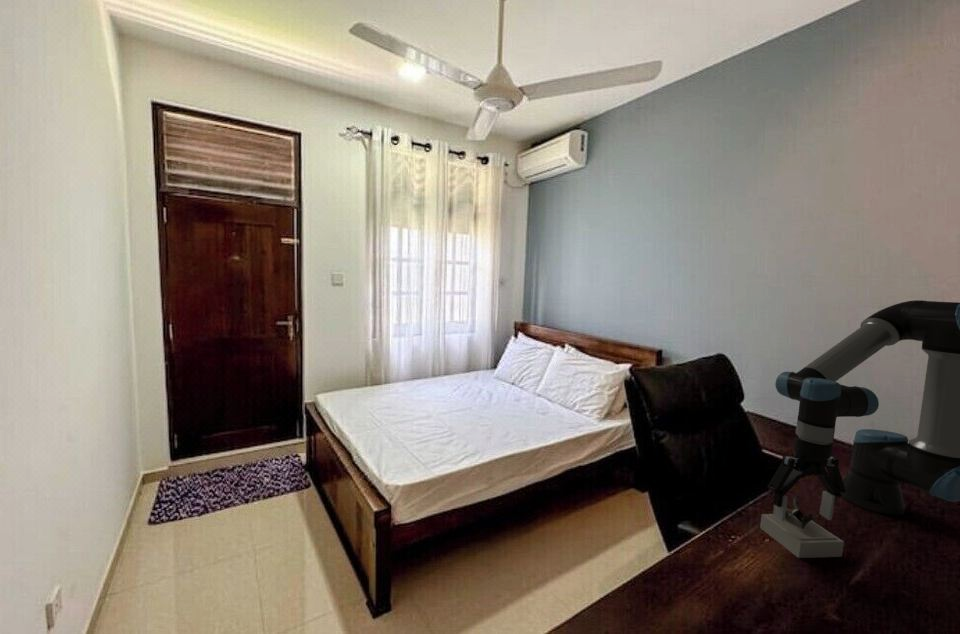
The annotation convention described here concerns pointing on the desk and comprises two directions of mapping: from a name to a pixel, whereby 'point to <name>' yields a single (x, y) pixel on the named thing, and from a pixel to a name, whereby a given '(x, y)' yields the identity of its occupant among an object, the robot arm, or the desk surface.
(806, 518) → the eagle figurine
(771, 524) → the tray
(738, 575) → the desk surface
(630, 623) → the desk surface
